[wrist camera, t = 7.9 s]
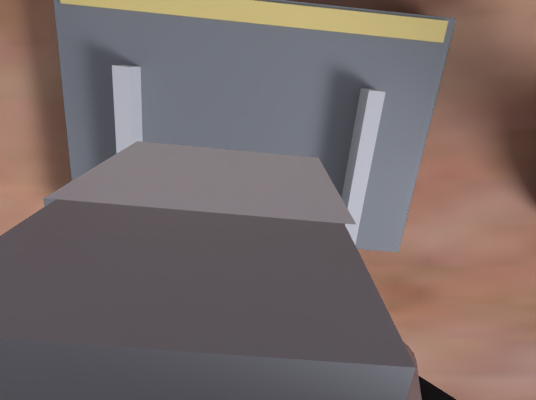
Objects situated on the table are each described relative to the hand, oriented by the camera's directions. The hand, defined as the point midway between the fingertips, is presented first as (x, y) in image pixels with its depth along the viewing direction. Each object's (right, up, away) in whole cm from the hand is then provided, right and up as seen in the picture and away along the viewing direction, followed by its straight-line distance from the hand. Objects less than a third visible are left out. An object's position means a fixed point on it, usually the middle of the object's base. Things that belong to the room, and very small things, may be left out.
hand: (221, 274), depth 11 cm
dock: (0, +8, +16) cm, 18 cm away
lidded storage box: (0, 0, +1) cm, 1 cm away
